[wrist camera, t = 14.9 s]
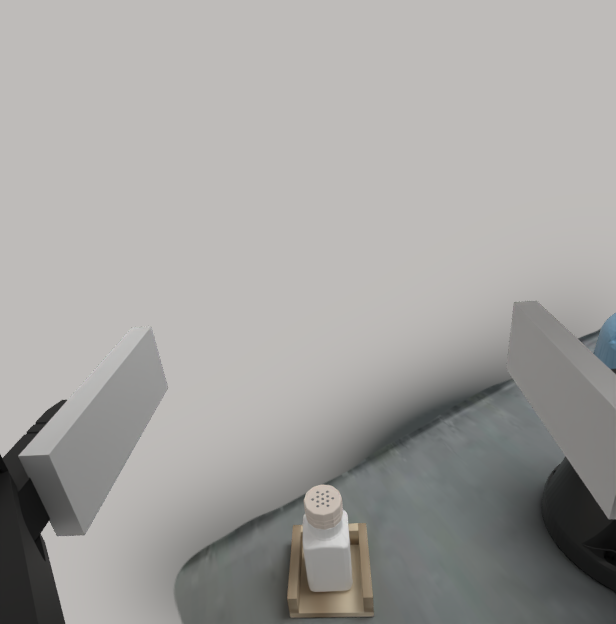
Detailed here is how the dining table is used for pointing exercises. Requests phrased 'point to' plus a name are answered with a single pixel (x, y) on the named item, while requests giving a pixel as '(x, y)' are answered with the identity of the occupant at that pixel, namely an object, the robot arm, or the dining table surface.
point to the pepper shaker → (326, 541)
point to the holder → (331, 602)
